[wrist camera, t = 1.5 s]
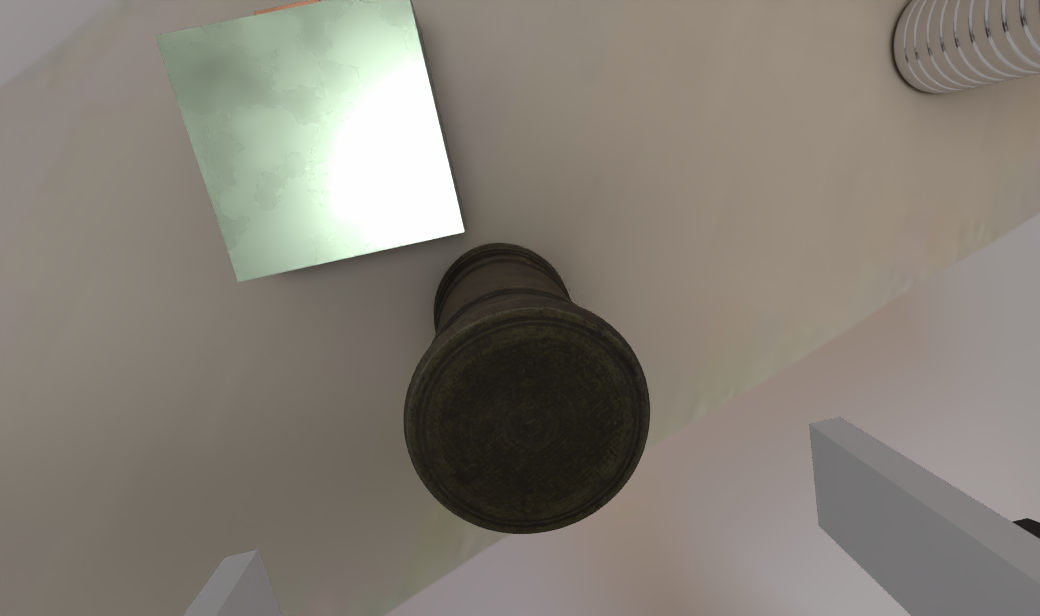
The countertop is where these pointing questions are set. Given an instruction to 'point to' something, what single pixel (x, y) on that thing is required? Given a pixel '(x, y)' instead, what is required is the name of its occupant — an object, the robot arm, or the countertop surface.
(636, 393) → the container
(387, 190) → the grey square box
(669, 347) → the countertop surface
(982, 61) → the water bottle
